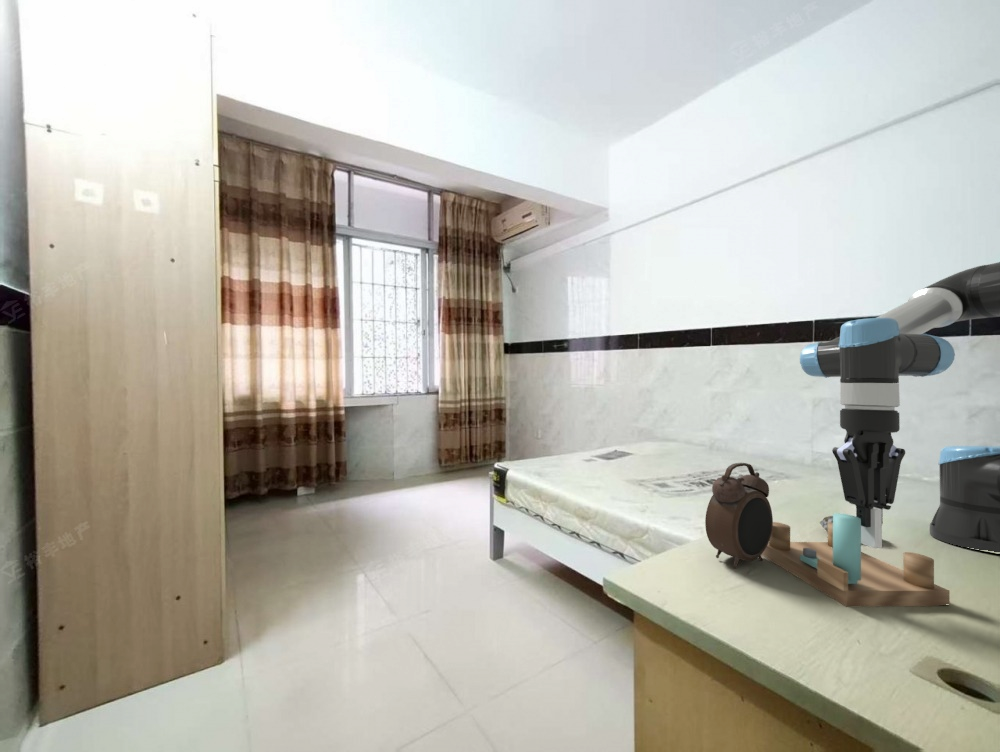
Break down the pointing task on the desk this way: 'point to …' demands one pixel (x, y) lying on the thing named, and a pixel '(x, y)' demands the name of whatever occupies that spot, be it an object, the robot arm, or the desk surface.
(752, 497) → the alarm clock
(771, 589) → the desk surface
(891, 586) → the stool seat
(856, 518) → the hinged leg
